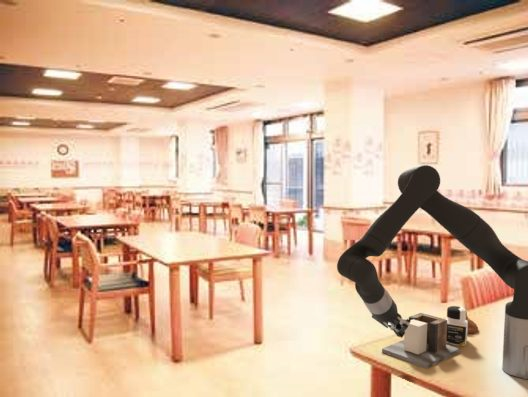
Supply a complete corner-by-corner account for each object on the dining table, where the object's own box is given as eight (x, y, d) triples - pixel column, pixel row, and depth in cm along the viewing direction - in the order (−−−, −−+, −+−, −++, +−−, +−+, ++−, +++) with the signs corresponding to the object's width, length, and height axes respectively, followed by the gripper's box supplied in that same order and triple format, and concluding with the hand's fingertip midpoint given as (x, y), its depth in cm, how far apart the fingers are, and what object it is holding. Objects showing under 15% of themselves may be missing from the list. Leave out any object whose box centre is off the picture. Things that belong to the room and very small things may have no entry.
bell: (449, 321, 186) (450, 303, 185) (481, 328, 178) (482, 309, 178) (439, 329, 177) (440, 310, 176) (472, 337, 169) (473, 317, 169)
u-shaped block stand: (426, 368, 142) (428, 334, 141) (382, 352, 154) (383, 320, 153) (459, 352, 155) (460, 320, 154) (415, 338, 167) (416, 309, 166)
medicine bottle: (442, 342, 163) (444, 308, 162) (445, 336, 169) (446, 303, 168) (465, 346, 159) (466, 311, 159) (467, 340, 166) (468, 306, 165)
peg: (417, 354, 148) (418, 326, 148) (403, 349, 152) (404, 322, 151) (426, 350, 151) (427, 323, 151) (412, 346, 155) (413, 319, 155)
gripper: (404, 297, 134) (425, 330, 142) (366, 287, 144) (388, 319, 152) (393, 319, 130) (415, 351, 139) (355, 307, 140) (378, 338, 149)
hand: (401, 334), depth 146 cm, fingers closed
